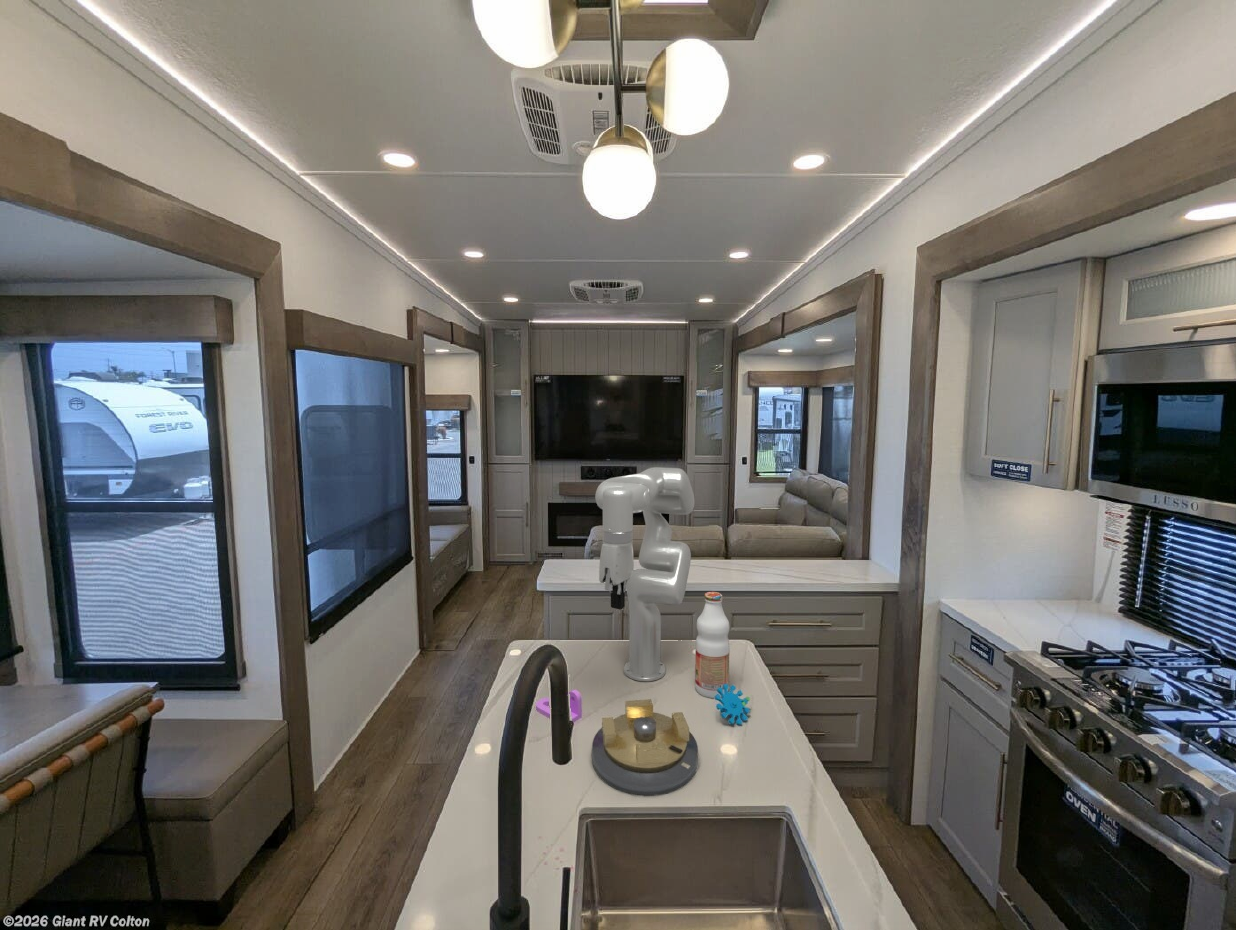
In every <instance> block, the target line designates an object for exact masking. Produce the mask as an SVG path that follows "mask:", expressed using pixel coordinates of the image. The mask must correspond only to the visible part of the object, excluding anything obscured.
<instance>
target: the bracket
mask: <svg viewBox="0 0 1236 930" xmlns="http://www.w3.org/2000/svg"><path fill="white" fill-rule="evenodd" d="M568 693H569V694H570V708H571V716H572V721H573V724H574V723H576V722H577V721H578V720H580V719H582V718H583V715H582V714H583V713H582V712H583V710H582V709H583V706H582V705H583V703H582V695H581V692H580V691H578V689H573V690H570V691H569V692H568ZM549 698H550V697H543V698H540V699H538V700H537V701H536V703H535V709H536V710H535V711H536V712H538V713H539V714H541V715H542V716H544V717H546V718H548V719H550V709H549V708H550V706H549Z"/></svg>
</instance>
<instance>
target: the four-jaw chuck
mask: <svg viewBox="0 0 1236 930" xmlns="http://www.w3.org/2000/svg"><path fill="white" fill-rule="evenodd" d="M624 703H625V704H624V706H625V708H624V709H625V710H624V711H625V712H624V713H625V714H621V715H619V716H617V717H615V718H614V717H613V716H607V717H601V728H602V733H603V748H604V751H605V753H606V755H607V756H608V758H609V759H610V760H611V761H612V762H614V763H615V764H617V765H618V766H620V767H622V768H625V769H628V770H631V771H635V772H645V773H649V772H659V771H663V770H666V769H669V768H671V767H673V766H675V765H676V764H678V763H679V762H680V761H681V760H682V759H683V757H684V756H685V754H686V750H687V741H689V732H690V727H689V725H688V722H687V720H686V717H685V714H684V712H683V711H681V712H672V713H671V717H670V716H668V715H666V714H664V713H663V714H662V713H658V712H655V711H654V704H653V700H652V699H651V698H649V699H647V698H646V699H636V700H635V699H633V700H625V702H624Z"/></svg>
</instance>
